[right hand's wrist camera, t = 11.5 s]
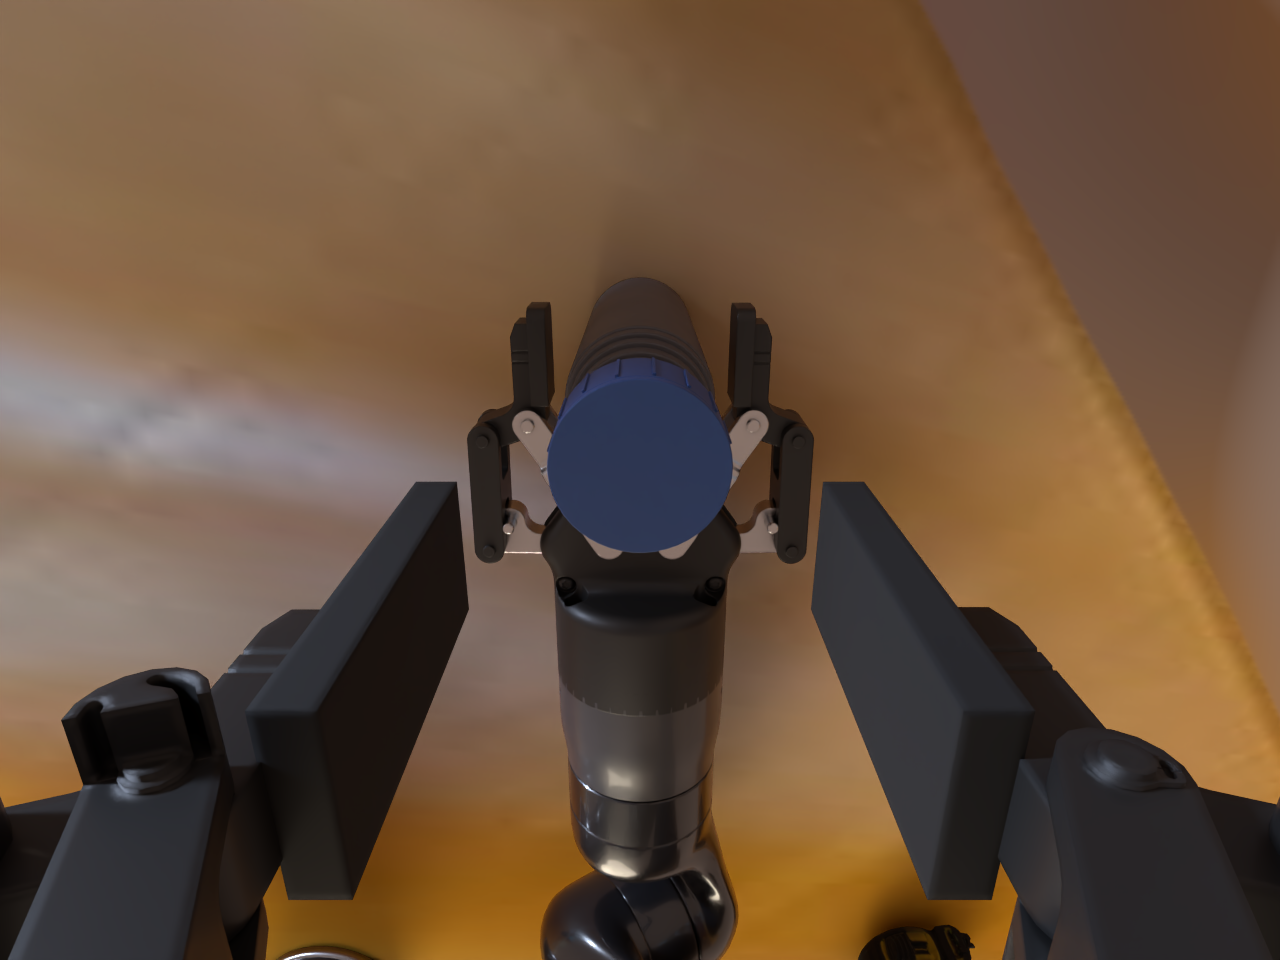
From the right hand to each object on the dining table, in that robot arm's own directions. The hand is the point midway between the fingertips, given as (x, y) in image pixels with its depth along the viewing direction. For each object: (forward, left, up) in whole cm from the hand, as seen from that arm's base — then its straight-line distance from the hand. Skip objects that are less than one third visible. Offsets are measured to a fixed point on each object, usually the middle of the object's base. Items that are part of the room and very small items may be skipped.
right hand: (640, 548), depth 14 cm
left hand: (-2, 0, -16) cm, 16 cm away
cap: (0, 0, -5) cm, 5 cm away
